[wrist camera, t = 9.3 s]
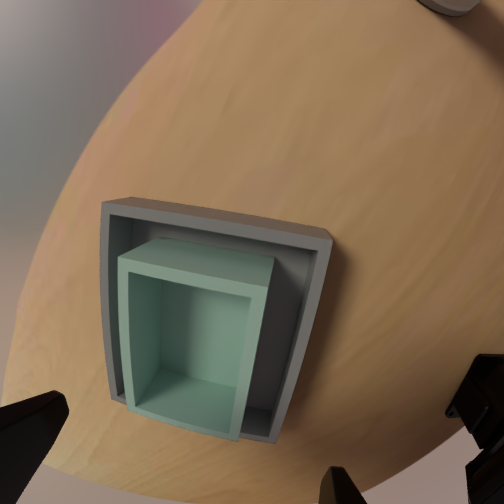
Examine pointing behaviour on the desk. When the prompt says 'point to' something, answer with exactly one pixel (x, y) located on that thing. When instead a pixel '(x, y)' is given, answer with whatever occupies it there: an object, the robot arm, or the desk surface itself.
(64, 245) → the desk surface
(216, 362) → the small tote
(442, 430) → the desk surface
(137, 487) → the desk surface
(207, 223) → the tray
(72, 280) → the desk surface
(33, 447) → the robot arm
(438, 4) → the travel mug
